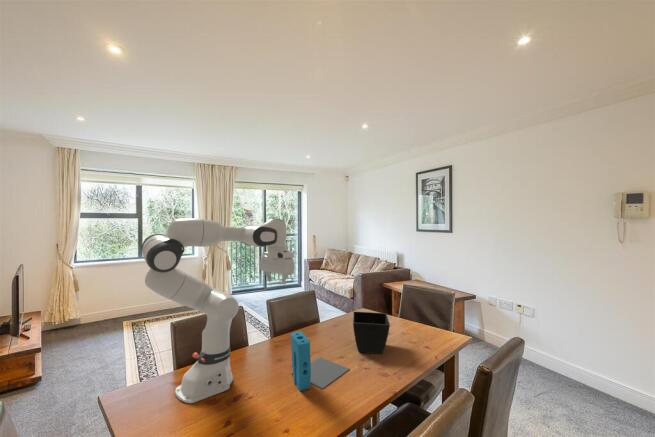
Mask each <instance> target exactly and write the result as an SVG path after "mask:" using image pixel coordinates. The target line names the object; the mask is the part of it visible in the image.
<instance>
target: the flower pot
mask: <svg viewBox="0 0 655 437" xmlns="http://www.w3.org/2000/svg"><path fill="white" fill-rule="evenodd" d="M352 315H353V317H352V325H353V334H354V339H355V344H356V348H357V351H358V353H363V354H364V353H365V354H380V355H382V354H383V353H384V350H385V347H386V344H387V341H388V336H389V332H390V326H391V324H390V321H389V318H388V315H387V313H385V312H370V311H369V312H366V311H353V314H352Z"/></svg>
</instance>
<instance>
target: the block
mask: <svg viewBox="0 0 655 437" xmlns="http://www.w3.org/2000/svg"><path fill="white" fill-rule="evenodd" d="M290 342H291V343H290V346H291V347H290V348H291V349H290V350H291V368H292V373H293V375H292V376H293V377H292V378H293V383H294V385H296V388H297V390H298V392H301V391H305V390H309V389H310V388H311V383H310V379H311V362H312V361H311V342H310V340H309V339H308V337H307V336H306V335H305V334H304V333H303V331H301V330H299V331H295V332H292V333H290Z"/></svg>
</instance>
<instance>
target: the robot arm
mask: <svg viewBox="0 0 655 437" xmlns="http://www.w3.org/2000/svg"><path fill="white" fill-rule="evenodd" d="M223 241H224V242H225V241H226V242H241V243H242V244H244V245H246V246H251V247H259V248H263V247H266V248H267V249H266V251H264V252H262V253H261V258H260V261H259V262H260V264H259V269H260V271H262V272H265V273H264V274H265V276H266V282H272V280H273V278H272V276H271V274H273V273H274V274H278V275H281V276H282V279H281V280H280V284H281V285H285V284H286V280H287V279H288V277H289V276H292V275H294V273H295V260H294V259H293V258H295V253H294V252H292V251H290V250H289V249H287V244H286V241H287V224H286V221H285V220H282V219H280V218H269V219H268V220H267V221H266V222H264V223H261V224H259V225H258V224H256V225H255V224H248V225H244V226H242V227H233V226H230V227H229V226H225V225H222V224H221V223H220V222H218V221H215V220H211V219H206V218H193V217H191V218H186V217H185V218H177V219H176V218H175V219H174V220H172V221H171V222H170V223H169V225H168V227H167V232H166V234H162V233H153V234H150V235H149V236H147V237H146V238H145V239H144V240H143V241H142V244H141V253H142V256H143V259H144V260H145V263H146V264H147V266H148V267H149V268H150V269H149V270H148V272H147V273H146V274H145V276H144V277H145V278H144V283H145V285H146V287H147V288H148V289H150V290H151V291H153V292H154V293H155V294H157V295H160V296H161V297H164V298H166V299H168V300H169V301H173V302H175V303H177V304H180V305H183V306H184V307H188V308H190V309H193V310H196V311H198V312H200V313H203V314H204V315H206V318H207V319H206V323H205V327H204V329H203V330H202V332H201V350H200V353H198V352H197V351H196V352H193V353H192V358H194V359H197V360H196V362H195V363H194V364H193V365H192V366H190V368H189V369H188V370H187V371H186V372H185V373H184V374H183V376H182V379H181V384H180V385H178V386H177V387H175V390H174V394H175V397H176V398H177V399H179V400H180V401H181V402H183V403H186V404H194V403H197V402H199V401H202V400H205V399H208V398H209V397H212V396H215V395H217V394H221V393H223V392H225V391H227V390H229V389H230V387H231V384H232V382H233V380H234V376H233V374H232V369H231V359H230V358H231V345H230V338H231V337H230V332H231V325H232V321H233V319H234V318H235V317H236V315H237V314H238V311H239V302H238V301H237V299H236V298H235V297H234V296H233V295H231V293H227V292H224V291H222V290H220V289H219V288H216V287H213V286H211V285H209V284H208V283H205V282H204V281H203V280H201V279H199V278H197V277H194V276H192V275H190V274H189V273H187V272H184V271H182V270H180V269H178V268H177V266H178V265H179V264H180V261H181V258H182V256H183V254H184V252H185V248H187V247H202V248H203V247H213V246H217V245H218V244H220V242H223Z"/></svg>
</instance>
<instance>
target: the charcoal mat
mask: <svg viewBox="0 0 655 437" xmlns="http://www.w3.org/2000/svg"><path fill="white" fill-rule="evenodd" d="M310 362H311V379H310V385H313V386H314V387H317V388H320V389H321V390H324V389H325V388H326V387H328V386H330V385H331V384H332V383H334V382H335V381H336V380H337V379H339V378H341V377H342V376H343V375H345V374H346V373H347V372H349V371H351V369H350V368H349V367H346V366H344V365H341V364H339V363H337V362H334V361H331V360H329V359H326V358H324V357H321V356H320V357H318V358H316V359H314V360H313V361H310ZM291 375H292V376H293V372H292V373H291Z"/></svg>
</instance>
